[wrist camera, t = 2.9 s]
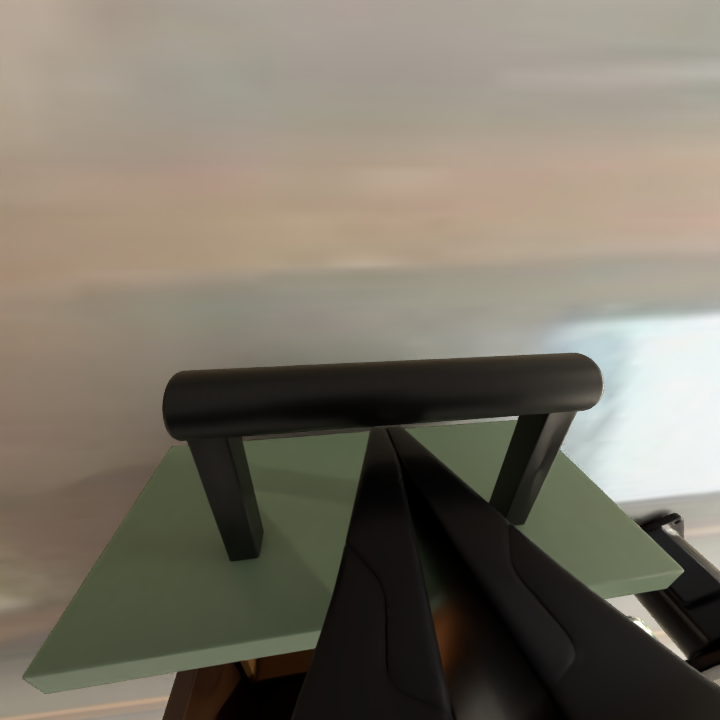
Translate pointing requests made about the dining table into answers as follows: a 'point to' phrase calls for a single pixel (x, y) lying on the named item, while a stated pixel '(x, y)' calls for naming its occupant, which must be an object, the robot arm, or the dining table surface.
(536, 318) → the dining table surface
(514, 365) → the drawer
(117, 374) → the dining table surface
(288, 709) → the organizer
